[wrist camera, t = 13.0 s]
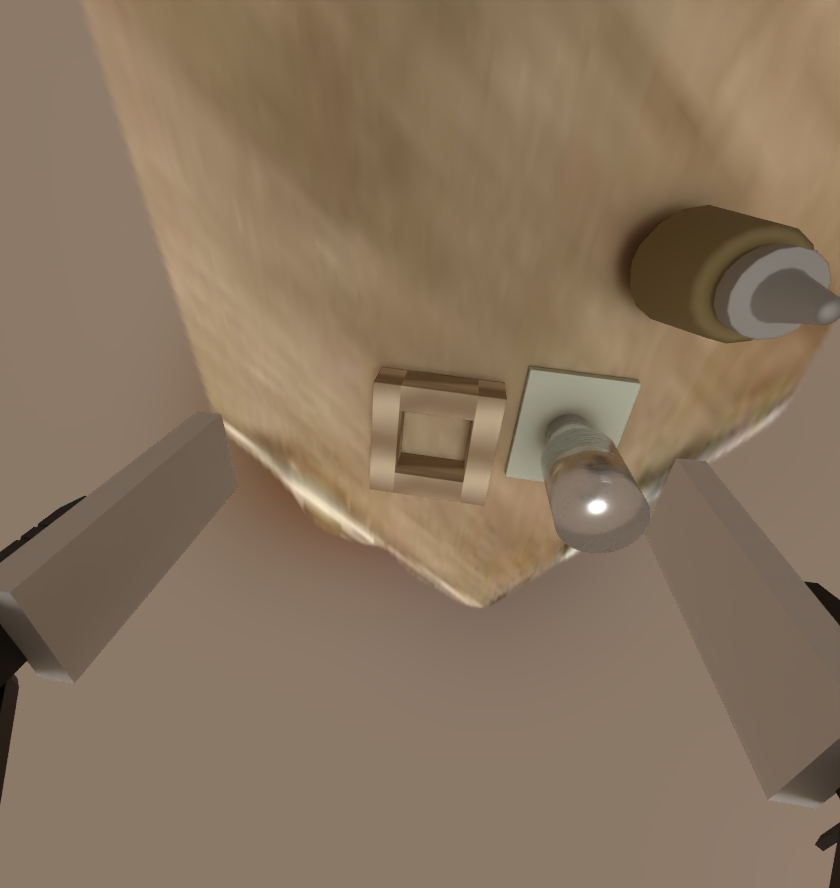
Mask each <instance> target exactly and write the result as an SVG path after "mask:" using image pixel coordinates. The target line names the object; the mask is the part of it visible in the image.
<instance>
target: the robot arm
mask: <svg viewBox="0 0 840 888" xmlns="http://www.w3.org/2000/svg"><path fill="white" fill-rule="evenodd" d="M237 488H238V483H237V479H236V475H235V470H234V466H233V462H232V458H231V453H230V449H229V445H228V441H227V437H226V432H225V428H224V424H223V420H222V416H221V414H217V413H207V412H196V413H195V414H194V415H192V416H191V417H190V418H188V419H187V420H186V421H184V422H183V423H182V424H180V425H179V426H178V427H177V428H175V429H174V430H173V431H172V432H170V433H169V434H168V435H166V436H165V437H164V438H162V439H161V440H160V441H158V442H157V443H156V444H155V445H153V446H152V447H150V448H149V449H148V450H147V451H146V452H144V453H143V454H141V455H140V456H139V457H137V458H136V459H135V460H134V461H132V462H131V463H130V464H128V465H127V466H126V467H124V468H123V469H122V470H121V471H119V472H118V473H117V474H115V475H114V476H113V477H111V478H110V479H109V480H107V481H106V482H105V483H104V484H102V485H101V486H100V487H98V488H97V489H96V490H95V491H93V492H92V493H91V494H89V495H88V496H83V497H81V498H79V499H77V500H75V501H73V502H71V503H69V504H67V505H65V506H63V507H60V508H59V509H57V510H56V511H55V512H53V513H52V514H51V515H49V516H48V517H47V518H45V519H44V520H43V521H41V522H40V523H39V524H38V527H33V528H32V529H30V530H29V531H28V532H27V533H25V534H24V535H22V536H21V539H20V540H16V541H14V542H13V543H12V544H10V545H9V546H8V547H6V548H5V549H4V550H2V551H1V552H0V802H1V796H2V790H3V783H4V777H5V771H6V764H7V758H8V752H9V746H10V739H11V733H12V727H13V721H14V715H15V709H16V702H17V696H18V690H19V685H18V679H17V677H16V676H15V675H14V673H15V672H16V671H17V670H18V669H19V668H20V667H21V666H22V665H23V664H24V663H25V662H26V661H28V663H29V664H30V665H31V667H32V668H33V669H34V670H35V672H36V673H37V674H38V676H39V677H40V678H45V679H50V680H57V681H62V682H68V683H75V682H76V681H77V680H78V679H79V677H80V676H81V675H82V674H83V673H84V672H85V670H86V669H87V668H88V667H89V666H90V664H91V663H92V662H93V661H94V659H95V658H96V657H97V656H98V655H99V654H100V652H101V651H102V650H103V649H104V647H105V646H106V645H107V644H108V643H109V641H110V640H111V639H112V638H113V637H114V636H115V634H116V633H117V632H118V631H119V629H120V628H121V627H122V626H123V625H124V624H125V622H126V621H127V620H128V619H129V618H130V616H131V615H132V614H133V613H134V611H135V610H136V609H137V608H138V606H140V604H141V603H142V602H143V601H144V600H145V598H146V597H147V596H148V594H149V593H150V592H151V591H152V590H153V589H154V587H155V586H156V585H157V584H158V583H159V582H160V580H161V579H162V578H163V577H164V575H165V574H166V573H167V572H168V570H170V568H171V567H172V566H173V565H174V564H175V562H176V561H177V560H178V559H179V558H180V556H181V555H182V554H183V553H184V552H185V550H186V549H187V548H188V547H189V546H190V544H191V543H192V542H193V541H194V539H195V538H196V537H197V536H198V535H199V534H200V532H201V531H202V530H203V529H204V527H205V526H206V525H207V524H208V523H209V522H210V520H211V519H212V518H213V517H214V515H215V514H216V513H217V512H218V510H219V509H220V508H221V507H222V506H223V505H224V504H225V502H226V501H227V500H228V499H229V498H230V496H231V495H232V494H233V493H234V491H235V490H236V489H237ZM645 536H646V538H647V540H648V542H649V544H650V547H651V549H652V551H653V553H654V555H655V557H656V559H657V562H658V564H659V566H660V568H661V570H662V572H663V575H664V577H665V579H666V581H667V583H668V585H669V587H670V589H671V592H672V594H673V596H674V598H675V600H676V602H677V605H678V607H679V609H680V611H681V613H682V616H683V617H684V620H685V622H686V624H687V626H688V629H689V630H690V633H691V635H692V637H693V639H694V641H695V644H696V646H697V648H698V650H699V652H700V654H701V657H702V659H703V661H704V663H705V665H706V667H707V670H708V672H709V674H710V676H711V678H712V680H713V682H714V685H715V687H716V689H717V691H718V693H719V695H720V697H721V700H722V702H723V704H724V706H725V708H726V711H727V712H728V715H729V717H730V719H731V721H732V723H733V726H734V728H735V730H736V732H737V734H738V736H739V738H740V741H741V743H742V745H743V747H744V749H745V751H746V754H747V756H748V758H749V760H750V762H751V764H752V767H753V769H754V771H755V773H756V775H757V777H758V779H759V782H760V784H761V786H762V788H763V790H764V792H765V795H766V797H767V799H768V800H770V801H776V802H782V803H788V804H794V805H800V806H806V807H812V808H817V807H818V806H819V805H821V804H822V803H823V802H825V801H826V800H827V799H829V798H830V797H831V796H833V795H834V794H835V793H837V795H838V796H839V798H840V600H839V599H838V598H836V597H835V596H834V595H832V594H831V593H830V592H828V591H827V590H826V589H824V588H823V587H822V586H821V585H819V584H818V583H812V582H804V581H803V580H802V579H801V578H800V576H799V575H798V574H797V573H796V572H795V570H794V569H793V568H792V567H791V565H790V564H789V563H788V562H787V560H786V559H785V558H784V557H783V556H782V554H781V553H780V552H779V551H778V549H777V548H776V547H775V546H774V544H773V543H772V542H771V541H770V540H769V538H768V537H767V536H766V535H765V533H764V532H763V531H762V530H761V528H760V527H759V526H758V525H757V524H756V522H755V521H754V520H753V519H752V518H751V516H750V515H749V514H748V512H746V510H745V509H744V508H743V506H742V505H741V504H740V503H739V501H738V500H737V499H736V498H735V497H734V495H733V494H732V493H731V492H730V490H729V489H728V488H727V487H726V486H725V484H724V483H723V482H722V481H721V479H720V478H719V477H718V476H717V474H716V473H715V472H714V471H713V470H712V468H711V467H710V466H709V465H708V463H707V462H706V461H698V460H687V459H677V458H676V460H675V463H674V465H673V467H672V470H671V472H670V474H669V477H668V479H667V481H666V484H665V486H664V488H663V491H662V493H661V495H660V498H659V500H658V503H657V505H656V507H655V510H654V512H653V514H652V517H651V519H650V521H649V524H648V526H647V528H646V531H645ZM835 843H837V846H836V852H835V858H834V863H833V869H832V874H831V880H830V886H829V888H840V823H838V824H837V825H835V826H834V827H832V828H831V829H829V830H828V831H827V832H825V833H824V834H822V835H821V836H820V837H819V839H818V841H817V842H816V844H815V845H816V846H817V847H819V848H820V849H821V850H822V851H824V850H826V849H827V848H829V847H830V846H832V845H834V844H835Z"/></svg>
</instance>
